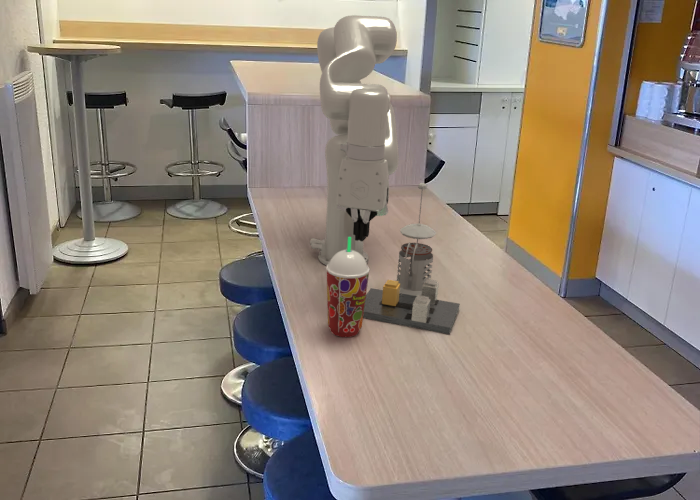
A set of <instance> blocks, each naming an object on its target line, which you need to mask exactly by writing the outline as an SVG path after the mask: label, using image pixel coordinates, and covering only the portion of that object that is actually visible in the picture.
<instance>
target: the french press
mask: <svg viewBox="0 0 700 500" xmlns="http://www.w3.org/2000/svg"><path fill="white" fill-rule="evenodd" d="M417 185H418V186H417V188H418V189H420V190H421V193H420V204H419V215H418V223H411V224H407V225H405V226H403V227H401V228H400V230H399V231H400V234H401V235H402V236H405V237H406V238H409V239H414V240H416V242H407V243H403V244H401V246H400V249H401V250H400V251H399V253H398V262H397V263H398V265H397V275H396V280H395V281H399V284H400V293H402V294H408V295H413V296H417V295H420V296H421V294H422V286H423V284H424V282H425V281H426V279H432V273H433V270H431V269H432V268H433V264H431V263H433V262H434V254H433V253H432V252H433V247H431V246H430V245H429V244H426V243H422V242H419V240H427V239H431V238H433V237H434V236H436V235H437V231H436V230H435V229H433V228H432V227H430V226H429V225H427V224H423V223H420V222H421V212H422V199H423V190H426V189H427V187H428V186H427V184H426V183H425V182H420V183H419V184H417ZM408 258H409V259H408ZM426 271H427V272H426ZM426 276H427V277H426Z"/></svg>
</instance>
